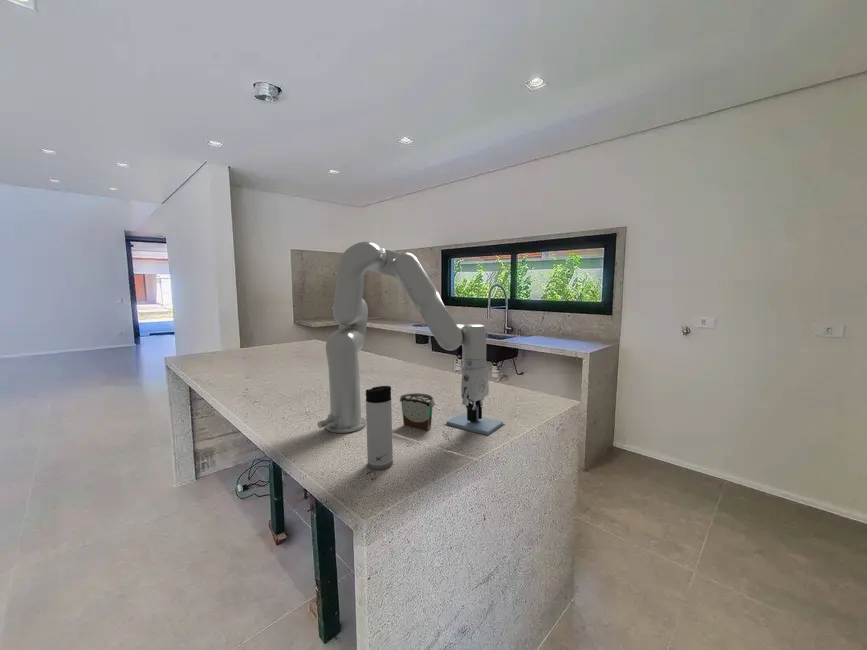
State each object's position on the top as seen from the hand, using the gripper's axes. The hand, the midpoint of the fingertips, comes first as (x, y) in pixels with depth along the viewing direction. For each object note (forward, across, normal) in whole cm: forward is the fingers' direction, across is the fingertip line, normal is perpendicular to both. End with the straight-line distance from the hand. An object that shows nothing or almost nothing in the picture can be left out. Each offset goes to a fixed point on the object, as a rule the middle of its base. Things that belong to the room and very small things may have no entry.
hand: (474, 419), depth 115 cm
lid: (+2, 0, 0) cm, 2 cm away
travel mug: (+2, -36, +6) cm, 37 cm away
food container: (+2, -10, +14) cm, 17 cm away
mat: (+2, 0, 0) cm, 2 cm away
